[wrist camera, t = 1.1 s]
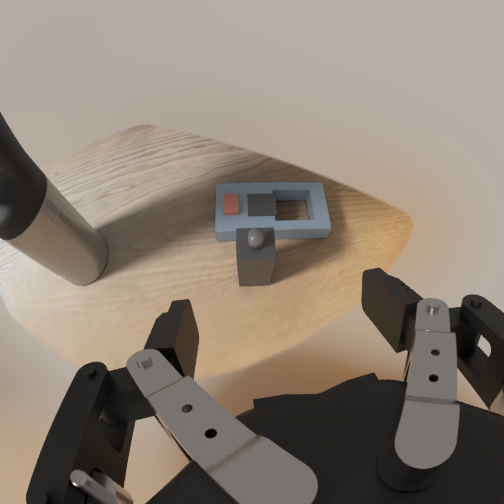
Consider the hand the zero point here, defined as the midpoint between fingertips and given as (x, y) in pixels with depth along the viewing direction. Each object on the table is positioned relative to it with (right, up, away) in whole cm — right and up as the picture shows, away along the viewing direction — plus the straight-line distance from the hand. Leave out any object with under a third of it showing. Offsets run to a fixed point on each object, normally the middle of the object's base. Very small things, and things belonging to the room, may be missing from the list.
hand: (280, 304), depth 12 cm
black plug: (-1, -1, +26) cm, 26 cm away
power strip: (+2, +8, +29) cm, 30 cm away
